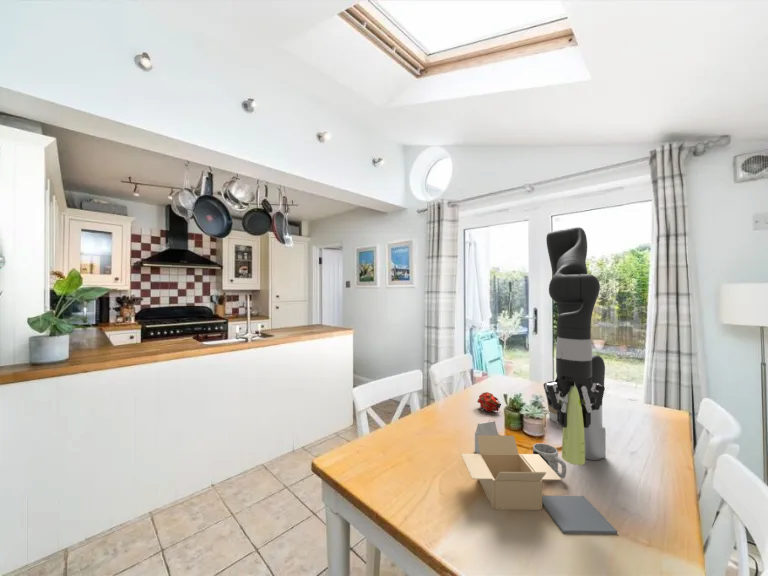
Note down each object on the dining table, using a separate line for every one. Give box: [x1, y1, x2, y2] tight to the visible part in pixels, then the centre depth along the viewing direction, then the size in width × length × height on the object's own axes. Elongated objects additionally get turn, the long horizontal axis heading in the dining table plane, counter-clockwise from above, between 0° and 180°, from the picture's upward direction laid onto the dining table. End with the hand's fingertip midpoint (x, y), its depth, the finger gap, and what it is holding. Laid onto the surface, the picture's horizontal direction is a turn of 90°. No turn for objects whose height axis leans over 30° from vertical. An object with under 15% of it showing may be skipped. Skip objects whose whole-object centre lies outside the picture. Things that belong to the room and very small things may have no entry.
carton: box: [460, 435, 563, 511], centre depth 84 cm, size 22×19×11 cm
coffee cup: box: [546, 380, 565, 423], centre depth 132 cm, size 11×11×15 cm
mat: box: [542, 494, 618, 535], centre depth 76 cm, size 12×12×1 cm
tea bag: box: [474, 420, 500, 454], centre depth 105 cm, size 4×7×10 cm, turn 110°
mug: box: [532, 442, 567, 479], centre depth 93 cm, size 10×7×7 cm
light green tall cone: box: [561, 382, 586, 466], centre depth 76 cm, size 6×5×20 cm
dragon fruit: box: [476, 391, 502, 414], centre depth 142 cm, size 8×8×12 cm
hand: (573, 426), depth 76 cm, fingers closed on light green tall cone, 4 cm apart
